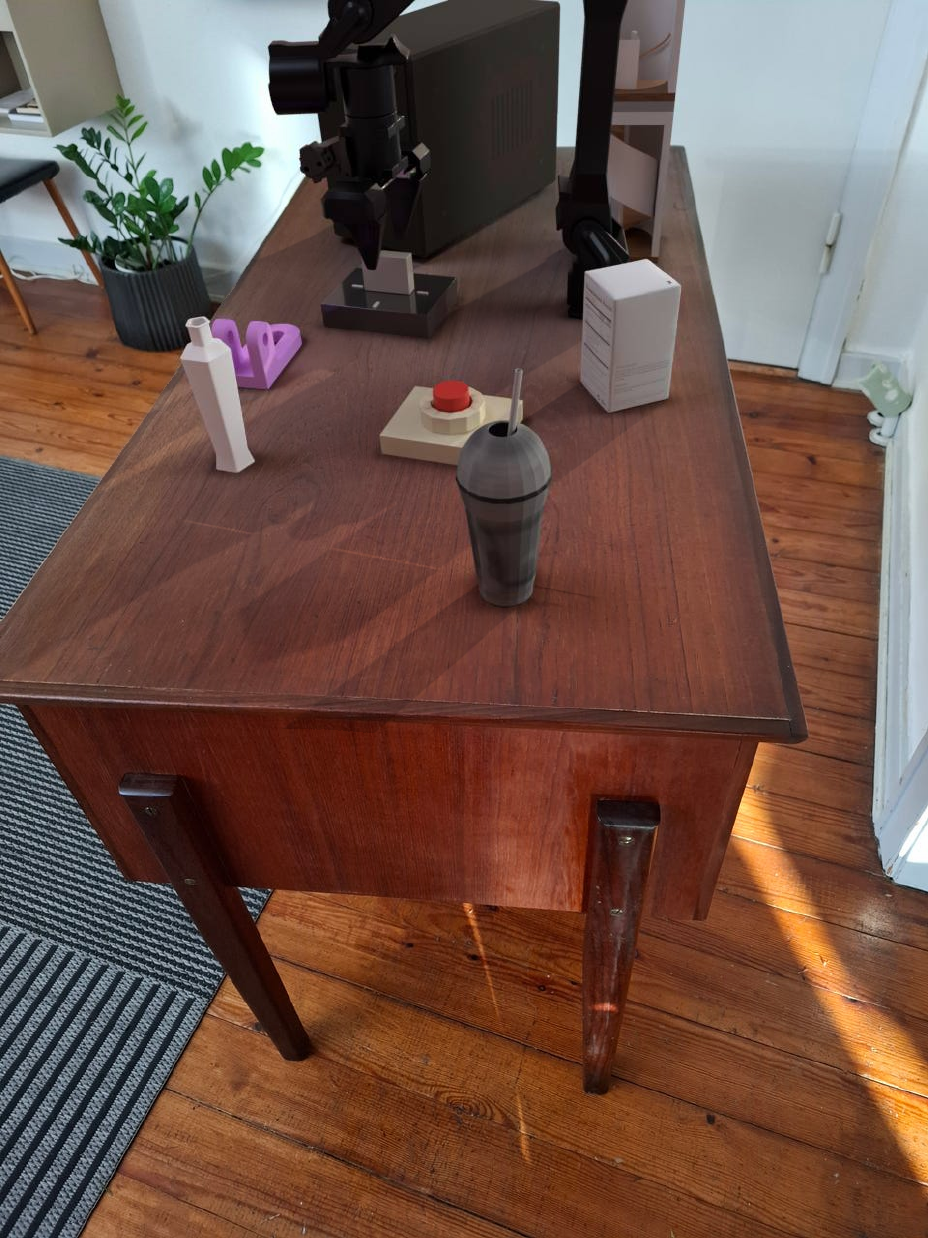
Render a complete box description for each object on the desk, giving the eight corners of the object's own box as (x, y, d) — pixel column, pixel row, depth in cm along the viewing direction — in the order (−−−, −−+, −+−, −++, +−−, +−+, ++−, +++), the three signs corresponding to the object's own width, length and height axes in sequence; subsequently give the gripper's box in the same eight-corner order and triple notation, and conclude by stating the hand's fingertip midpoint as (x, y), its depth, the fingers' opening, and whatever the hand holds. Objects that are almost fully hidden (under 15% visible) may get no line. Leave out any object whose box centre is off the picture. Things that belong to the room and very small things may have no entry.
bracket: (268, 389, 101) (255, 331, 96) (222, 385, 102) (207, 327, 97) (308, 335, 110) (298, 280, 105) (266, 332, 111) (254, 277, 106)
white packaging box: (638, 368, 100) (649, 256, 91) (669, 400, 95) (684, 284, 86) (577, 382, 99) (582, 269, 90) (606, 414, 94) (614, 298, 85)
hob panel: (458, 299, 115) (456, 275, 113) (428, 338, 108) (426, 313, 106) (359, 289, 119) (356, 265, 117) (324, 326, 112) (319, 302, 109)
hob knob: (414, 288, 111) (411, 250, 108) (409, 294, 110) (405, 256, 107) (370, 284, 113) (365, 246, 109) (364, 290, 111) (359, 252, 108)
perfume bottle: (266, 452, 92) (232, 312, 81) (245, 476, 89) (207, 334, 78) (227, 446, 93) (189, 307, 82) (205, 469, 90) (163, 329, 79)
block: (522, 418, 94) (522, 384, 91) (494, 471, 87) (493, 436, 84) (416, 403, 97) (413, 370, 94) (381, 453, 90) (377, 419, 88)
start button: (474, 398, 90) (473, 382, 89) (462, 416, 88) (462, 401, 87) (440, 393, 91) (439, 378, 90) (428, 411, 89) (427, 396, 88)
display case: (581, 237, 128) (595, -69, 104) (657, 238, 126) (689, -72, 102) (576, 270, 120) (589, -53, 96) (656, 272, 118) (691, -56, 94)
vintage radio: (466, 164, 153) (459, -12, 136) (564, 183, 144) (569, -3, 127) (318, 239, 132) (287, 42, 115) (422, 266, 123) (406, 57, 106)
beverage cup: (459, 564, 77) (445, 350, 64) (542, 556, 78) (546, 342, 64) (466, 622, 72) (452, 403, 58) (556, 613, 72) (563, 393, 59)
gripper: (339, 85, 106) (356, 220, 117) (265, 133, 93) (292, 280, 104) (427, 88, 103) (436, 227, 114) (363, 138, 90) (380, 288, 101)
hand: (386, 254), depth 108 cm, fingers open, 9 cm apart
